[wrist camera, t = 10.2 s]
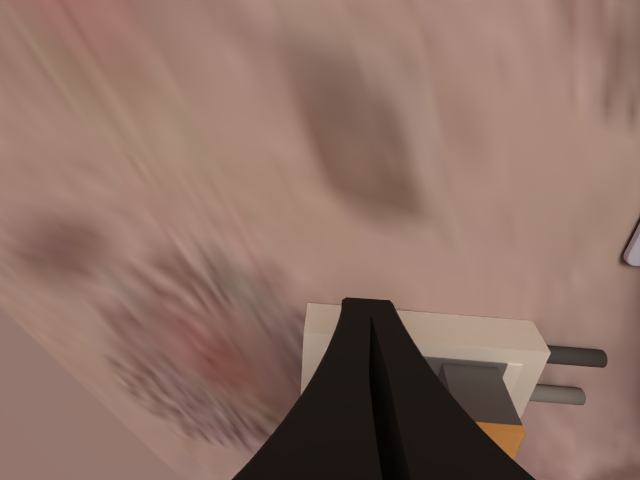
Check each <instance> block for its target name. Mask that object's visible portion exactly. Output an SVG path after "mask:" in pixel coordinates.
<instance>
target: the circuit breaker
mask: <svg viewBox="0 0 640 480" xmlns="http://www.w3.org/2000/svg"><path fill="white" fill-rule="evenodd" d="M396 311H397V313H398V315H399V317H400V319H401V321H402V323H403V324H404V326H405V328H406V330H407V331H408V333H409V335H410V336H411V338H412V340H413V341H414V343H415V344H416V346H417V347H418V349H419V351H420V352H421V354H422V355H423V357H424V358H425V360H426V361H427V363H428V364H429V365H430V367H431V368H432V370H433V371H434V372H435V374H436V375H437V377H438V376H439V372H440V369H441V366H442V363H445V364H457V365H469V366H482V367H494V368H498V369H499V371H500V373H501V376H502V378H503V381H504V383H505V385H506V388H507V390H508V392H509V395H510V397H511V399H512V402H513V404H514V407H515V409H516V411H517V414H518V416H519V418H521V416H522V414H523V412H524V409H525V407H526V405H527V403H528V401H529V399H530V397H531V394H532V392H533V390H534V388H535V386H536V384H537V382H538V379H539V377H540V375H541V373H542V371H543V369H544V367H545V364H546V362H547V360H548V358H549V356H550V354H551V352H550V350H549V349H548V347H547V345H546V343H545V342H544V340H543V338H542V337H541V335H540V333H539V332H538V330H537V328H536V327H535V325H534V323H533V322H532V321H527V320H515V319H503V318H490V317H478V316H465V315H453V314H441V313H428V312H416V311H403V310H396ZM340 313H341V305H329V304H317V303H308V304H307V312H306V320H305V327H304V339H303V359H302V378H301V394H302V393H303V391H304V390H305V388H306V387H307V385H308V383H309V382H310V380H311V378H312V377H313V375H314V373H315V371H316V369H317V367H318V366H319V364H320V362H321V360H322V358H323V356H324V354H325V352H326V350H327V348H328V346H329V343H330V341H331V338H332V336H333V334H334V331H335V329H336V326H337V323H338V320H339V316H340Z"/></svg>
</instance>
